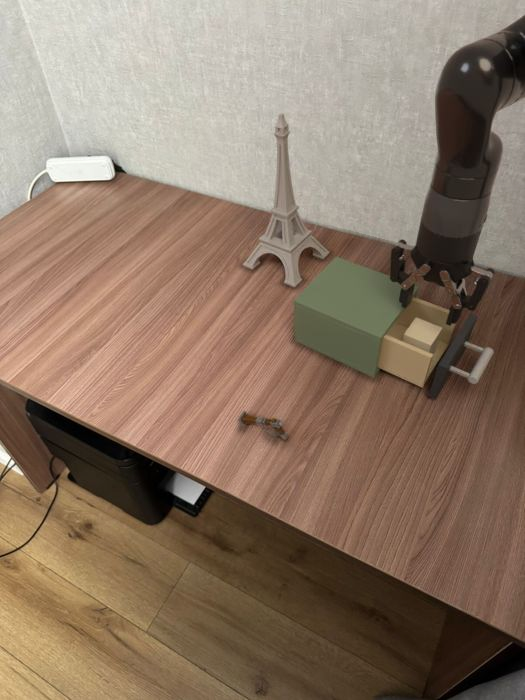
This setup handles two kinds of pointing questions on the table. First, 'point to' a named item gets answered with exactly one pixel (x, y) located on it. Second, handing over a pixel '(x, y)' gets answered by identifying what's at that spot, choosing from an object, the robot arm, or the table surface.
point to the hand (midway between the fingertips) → (427, 313)
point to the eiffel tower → (285, 219)
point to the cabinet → (348, 314)
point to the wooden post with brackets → (264, 424)
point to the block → (423, 335)
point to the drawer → (420, 363)
